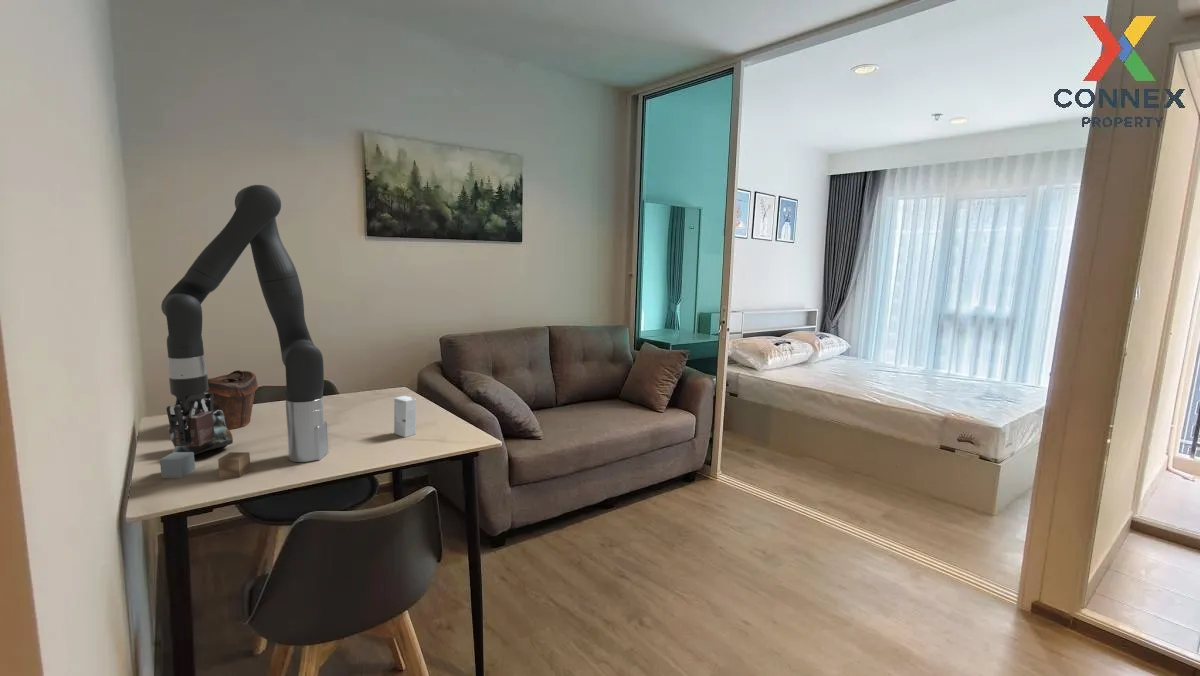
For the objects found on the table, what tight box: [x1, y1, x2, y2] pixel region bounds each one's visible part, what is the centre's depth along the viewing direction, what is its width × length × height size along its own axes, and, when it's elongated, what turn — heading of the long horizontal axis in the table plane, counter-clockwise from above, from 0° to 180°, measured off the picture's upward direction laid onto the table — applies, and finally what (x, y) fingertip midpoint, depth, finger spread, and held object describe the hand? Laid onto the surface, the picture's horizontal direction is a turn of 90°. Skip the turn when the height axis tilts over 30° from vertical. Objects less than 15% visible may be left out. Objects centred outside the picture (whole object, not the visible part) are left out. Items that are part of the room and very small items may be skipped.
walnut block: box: [217, 451, 252, 479], centre depth 141 cm, size 5×5×5 cm
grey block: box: [159, 452, 196, 479], centre depth 140 cm, size 5×5×5 cm
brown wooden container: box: [205, 369, 259, 431], centre depth 178 cm, size 18×20×18 cm
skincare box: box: [393, 395, 417, 438], centre depth 175 cm, size 6×4×12 cm
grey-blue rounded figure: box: [167, 407, 234, 456], centre depth 155 cm, size 15×12×14 cm
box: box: [173, 411, 215, 446], centre depth 135 cm, size 6×6×7 cm
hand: (194, 438), depth 135 cm, fingers closed on box, 6 cm apart
